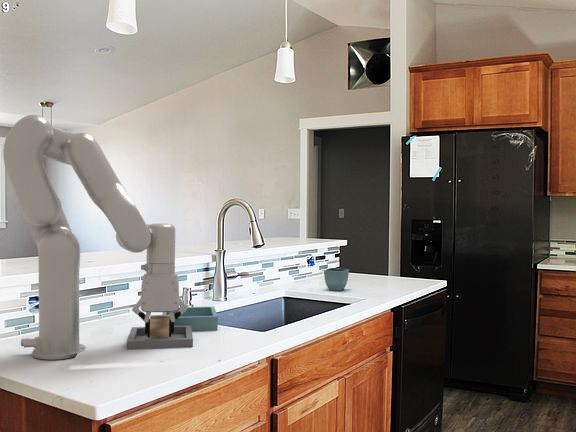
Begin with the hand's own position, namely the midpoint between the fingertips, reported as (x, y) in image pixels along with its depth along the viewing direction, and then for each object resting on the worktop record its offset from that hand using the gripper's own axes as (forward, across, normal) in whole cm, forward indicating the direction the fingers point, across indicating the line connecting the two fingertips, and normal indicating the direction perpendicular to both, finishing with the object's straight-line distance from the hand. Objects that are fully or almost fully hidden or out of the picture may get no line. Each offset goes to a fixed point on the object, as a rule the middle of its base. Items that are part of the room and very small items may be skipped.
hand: (159, 335), depth 158 cm
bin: (+2, 0, 0) cm, 2 cm away
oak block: (+1, 0, 0) cm, 1 cm away
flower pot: (+1, +73, +84) cm, 112 cm away
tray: (+2, +8, +18) cm, 20 cm away
